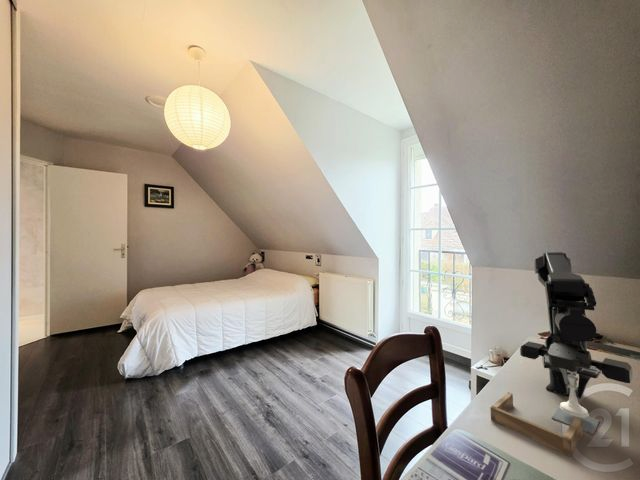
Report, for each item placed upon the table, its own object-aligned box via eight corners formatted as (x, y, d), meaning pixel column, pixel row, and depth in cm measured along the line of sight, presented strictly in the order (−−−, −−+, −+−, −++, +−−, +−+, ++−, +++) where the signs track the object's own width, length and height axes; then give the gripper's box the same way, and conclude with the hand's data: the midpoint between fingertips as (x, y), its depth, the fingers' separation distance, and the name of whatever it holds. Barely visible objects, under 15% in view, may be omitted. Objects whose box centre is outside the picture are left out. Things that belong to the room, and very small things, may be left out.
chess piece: (559, 402, 66) (557, 362, 66) (586, 409, 62) (584, 367, 63) (560, 411, 62) (558, 369, 62) (590, 420, 59) (587, 375, 59)
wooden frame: (508, 403, 69) (508, 392, 69) (582, 432, 58) (581, 418, 58) (491, 420, 63) (490, 407, 63) (570, 456, 51) (569, 440, 51)
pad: (559, 407, 67) (559, 406, 67) (599, 422, 61) (599, 420, 61) (551, 418, 63) (551, 417, 63) (593, 434, 57) (593, 433, 57)
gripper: (510, 327, 66) (514, 390, 65) (623, 348, 51) (629, 431, 50) (526, 319, 72) (529, 377, 72) (630, 336, 57) (635, 409, 57)
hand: (573, 395), depth 62 cm, fingers closed on chess piece
